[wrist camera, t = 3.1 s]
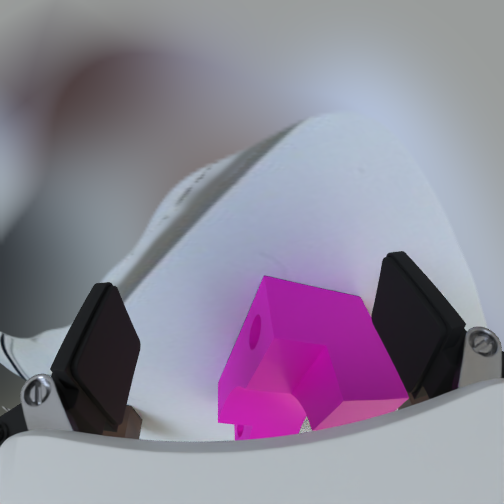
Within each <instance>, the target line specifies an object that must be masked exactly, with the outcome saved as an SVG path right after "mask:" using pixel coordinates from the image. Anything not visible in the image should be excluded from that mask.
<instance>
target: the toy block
mask: <svg viewBox="0 0 504 504" xmlns="http://www.w3.org/2000/svg"><path fill="white" fill-rule="evenodd" d="M408 399H409V396H408V394H407V391H406V389H405V387H404V385H403V383H402V380H401V378H400V376H399V374H398V372H397V370H396V368H395V366H394V364H393V362H392V360H391V358H390V356H389V354H388V352H387V350H386V348H385V346H384V344H383V342H382V340H381V338H380V337H379V335H378V333H377V331H376V329H375V327H374V325H373V323H372V318H371V317H370V315H369V313H368V311H367V309H366V307H365V305H364V303H363V301H362V299H361V298H360V297H359V296H354V295H349V294H345V293H340V292H335V291H331V290H326V289H322V288H317V287H313V286H308V285H304V284H299V283H295V282H290V281H286V280H281V279H277V278H273V277H268V276H264V277H263V279H262V282H261V284H260V286H259V289H258V291H257V294H256V296H255V298H254V301H253V303H252V306H251V308H250V310H249V313H248V315H247V317H246V320H245V322H244V324H243V327H242V329H241V331H240V334H239V336H238V338H237V341H236V343H235V345H234V348H233V350H232V352H231V355H230V357H229V359H228V362H227V364H226V366H225V369H224V371H223V373H222V375H221V378H220V380H219V382H218V423H227V424H234V425H235V440H249V439H260V438H270V437H278V436H286V435H293V434H299V431H300V428H301V426H302V424H303V421H304V420H305V418H306V416H307V417H308V420H309V423H310V426H311V429H312V431H317V430H322V429H327V428H332V427H337V426H341V425H346V424H350V423H354V422H358V421H362V420H366V419H370V418H373V417H377V416H380V415H384V414H387V413H390V412H394V411H395V410H396V409H398V408H399V407H400V406H401V405H402V404H403V403H404V402H405V401H406V400H408Z"/></svg>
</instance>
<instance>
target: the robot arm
mask: <svg viewBox="0 0 504 504" xmlns="http://www.w3.org/2000/svg"><path fill="white" fill-rule="evenodd" d="M372 323H373V325H374V327H375V329H376V331H377V333H378V335H379V337H380V338H381V340H382V342H383V344H384V346H385V348H386V350H387V352H388V354H389V356H390V358H391V360H392V362H393V364H394V366H395V368H396V370H397V372H398V374H399V376H400V378H401V380H402V383H403V385H404V387H405V389H406V391H407V392H408V393H411V394H412V396H413V398H414V400H415V399H417V398H420V397H423V396H426V395H428V397H429V400H426V401H424V402H421V403H418V404H415V405H412V406H409V407H406V408H403V409H400V410H397V411H394V412H390V413H387V414H384V415H380V416H377V417H373V418H370V419H366V420H362V421H358V422H354V423H350V424H346V425H341V426H337V427H332V428H327V429H322V430H317V431H311V432H305V433H299V434H293V435H286V436H278V437H270V438H260V439H249V440H235V441H212V442H176V441H154V440H140V439H130V438H120V437H111V436H103V435H102V434H103V430H104V431H111V432H117V430H118V425H121V424H122V422H123V418H124V414H125V409H126V405H127V400H128V396H129V391H130V387H131V383H132V379H133V375H134V371H135V367H136V363H137V359H138V356H139V352H140V340H139V338H138V336H137V333H136V331H135V329H134V327H133V325H132V322H131V320H130V318H129V315H128V313H127V311H126V308H125V306H124V303H123V301H122V298H121V296H120V293H119V291H118V289H117V287H116V286H113V285H112V284H111V283H110V282H107V283H96V284H95V285H94V286H93V288H92V290H91V291H90V293H89V295H88V296H87V298H86V300H85V302H84V304H83V306H82V307H81V309H80V311H79V313H78V314H77V316H76V318H75V320H74V322H73V324H72V325H71V327H70V329H69V331H68V333H67V335H66V337H65V339H64V341H63V343H62V345H61V347H60V349H59V351H58V353H57V355H56V357H55V360H54V362H53V364H52V366H51V368H50V369H51V371H52V372H53V373H52V375H51V377H50V376H49V375H46V374H37V375H35V376H33V377H31V378H30V379H29V380H28V381H27V382H26V383H25V384H24V386H23V388H22V390H21V394H20V397H21V404H19V405H17V406H16V407H15V408H13V409H11V410H10V411H8V412H7V413H5V414H4V415H2V416H0V504H504V352H503V351H502V349H501V348H502V347H501V342H500V341H499V338H498V337H497V336H496V335H495V333H493V332H492V331H490V330H489V329H487V328H484V327H473V328H471V329H469V330H468V332H467V331H466V330H465V329H464V327H465V325H466V323H465V322H464V321H463V319H462V318H461V317H460V316H459V314H458V313H457V312H456V311H455V309H454V308H453V307H452V306H451V304H450V303H449V302H448V301H447V300H446V298H445V297H444V296H443V295H442V294H441V292H440V291H439V290H438V289H437V288H436V286H435V285H434V284H433V283H432V282H431V281H430V280H429V278H428V277H427V276H426V275H425V274H424V273H423V272H422V271H421V269H420V268H419V267H418V266H417V265H416V264H415V263H414V262H413V261H412V260H411V258H410V257H409V256H408V255H407V254H406V253H405V252H403V251H400V252H392V253H388V254H387V256H386V257H385V258H384V259H383V261H382V266H381V272H380V278H379V283H378V288H377V293H376V298H375V302H374V307H373V311H372Z"/></svg>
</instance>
